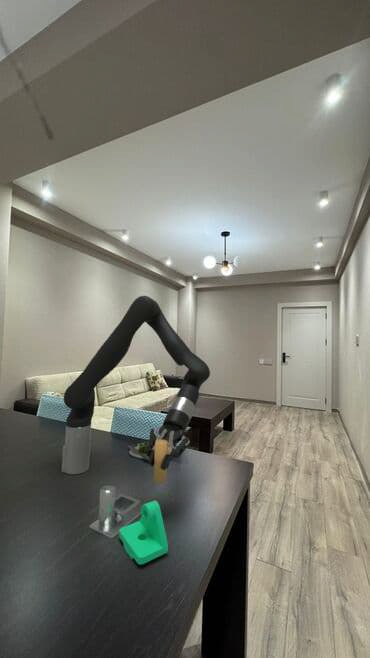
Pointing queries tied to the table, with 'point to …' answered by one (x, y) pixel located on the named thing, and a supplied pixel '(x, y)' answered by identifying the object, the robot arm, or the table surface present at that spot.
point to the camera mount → (145, 535)
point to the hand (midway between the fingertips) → (156, 466)
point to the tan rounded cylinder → (159, 460)
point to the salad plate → (141, 451)
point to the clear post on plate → (115, 511)
